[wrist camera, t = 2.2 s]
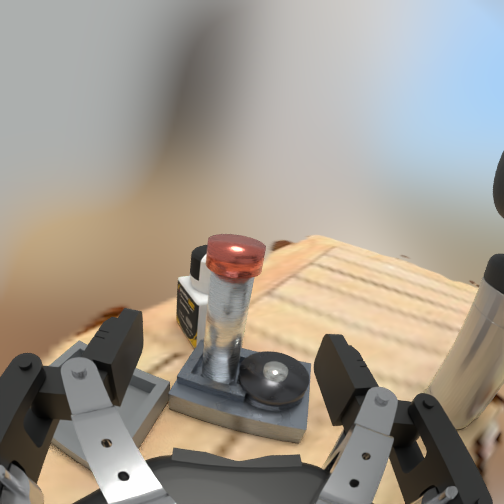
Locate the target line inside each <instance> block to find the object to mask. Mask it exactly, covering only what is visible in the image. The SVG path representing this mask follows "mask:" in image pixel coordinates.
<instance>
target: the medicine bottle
mask: <svg viewBox="0 0 504 504" xmlns="http://www.w3.org/2000/svg"><path fill="white" fill-rule="evenodd" d="M206 255H207V245H203V246H200V247H197V248H195V249H194V250H193V251H192V255H191V268H190V276H184V277H179V278H178V289H177V317H176V320H177V322H178V324H179V325H180V327H181V328H182V330H183V332H184V333H185V335H186V336H187V338H188V339H189V341H190V342H191V344H192V346H193V347H194V348H196V346H197V345H198V343H199V341H200V340H203V338H204V337H205V325H206V314H207V304H208V294H209V284H210V274H211V270H209V269H208V268H207V266H206Z"/></svg>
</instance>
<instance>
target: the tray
mask: <svg viewBox="0 0 504 504" xmlns="http://www.w3.org/2000/svg"><path fill="white" fill-rule="evenodd" d="M87 346H88V345H87V344H85V343H83V342H81V341H78V342H77V343H76V344H74V345H73V346H72V347H71V348H70V349H68V350H67V351H66V352H65V353H64V354H62V355H61V356H60V357H59V358H58V359H56V360H55V361H54V362H53V363H52V364H51V365H49V366H52V367H62V365H63V364H64V363H65V362H66V361H68V360H69V359H72V358H77V357H80V356H81V355H82V353H83V352H84V350H85V349H86V347H87ZM169 391H170V382H169V381H166V380H164V379H161V378H159V377H156V376H154V375H151V374H149V373H146V372H144V371H141V370H139V369H137V368H135V370H134V373H133V375H132V378H131V380H130V383H129V385H128V388H127V391H126V393H125V396H124V398H123V401H122V404H121V406H120V407H118V406H115V405H114V406H115V407H116V409H117V411H118V413H119V415H120V417H121V419H122V421H123V423H124V425H125V427H126V429H127V430H128V432H129V434H130V436H131V438H132V440H133V441H134V443H135V445H136V447H137V448H138V449H139V447H140V445H141V444H142V442H143V441H144V439H145V437H146V436H147V434H148V433H149V431H150V429H151V428H152V426H153V425H154V423H155V422H156V420H157V418H158V417H159V415H160V414H161V412H162V410H163V409H164V407H165V406H166V404H167V402H168V401H169V400H168V393H169ZM51 443H52V444H54V445H55V446H56V447H58V448H59V449H60V450H62V451H63V452H64V453H66V454H67V455H68V456H70V457H71V458H73V459H74V460H76V461H77V462H79V463H80V464H82V465H83V466H85V467H86V468H88V469H89V470H91V468H90V466H89V464H88V461H87V459H86V456H85V454H84V451H83V449H82V446H81V444H80V441H79V438H78V436H77V433H76V430H75V427H74V424H73V421H69V420H60V421H59V423H58V426H57V428H56V431H55V433H54V436H53V438H52V441H51ZM91 471H92V470H91Z"/></svg>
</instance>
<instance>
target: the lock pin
mask: <svg viewBox="0 0 504 504" xmlns="http://www.w3.org/2000/svg"><path fill="white" fill-rule="evenodd" d="M265 250H266V246H265V245H264V244H263V243H262V242H260V241H258V240H255V239H253V238H249V237H246V236H241V235H232V234H219V235H213V236H211V237H209V239H208V245H207V255H206V266H207V268H208V269H209V270H211V274H210V284H209V294H208V304H207V314H206V325H205V337H204V349H203V362H202V374H203V376H204V378H208V379H211V380H214V381H218V382H221V383H225V384H228V383H231V382H232V381H234V380H235V378H236V376H237V370H238V365H239V359H240V354H241V348H242V343H243V337H244V332H245V326H246V321H247V315H248V309H249V304H250V298H251V293H252V287H253V281H254V277H256V276H258V275H259V274H260V273H261V271H262V266H263V261H264V255H265Z"/></svg>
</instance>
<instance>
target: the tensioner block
mask: <svg viewBox="0 0 504 504" xmlns="http://www.w3.org/2000/svg"><path fill="white" fill-rule="evenodd" d="M203 349H204V338H203V340H200V341H199V343H198V345H197V346H196V348H195V349H194V351H193V352H192V354H191V355H190V357H189V358H188V360H187V361H186V363H185V365H184V366H183V368H182V369H181V371H180V372H179V374H178V375H177V380H176V382H175V383H174V385H173V387H172V388H171V390H170V391H169V393H168V400H169V409H171V410H174V411H177V412H179V413H182V414H185V415H188V416H191V417H194V418H197V419H200V420H203V421H206V422H209V423H212V424H216V425H219V426H222V427H226V428H230V429H233V430H237V431H241V432H245V433H249V434H253V435H258V436H262V437H267V438H272V439H277V440H282V441H288V442H294V443H299V442H300V440H301V438H302V437H303V435H304V433H305V431H306V428H307V417H308V404H309V389H310V372H311V363H306V362H300V361H297V360H296V359H294V358H292V357H290V356H288V355H285V354H282V353H278V352H255V351H251V350H247V349H243V348H241V354H240V359H239V365H238V370H237V376H236V378H235V380H234V381H232V382H231V383H228V384H225V383H221V382H218V381H214V380H211V379H208V378H204V376H203V374H202V362H203Z"/></svg>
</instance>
